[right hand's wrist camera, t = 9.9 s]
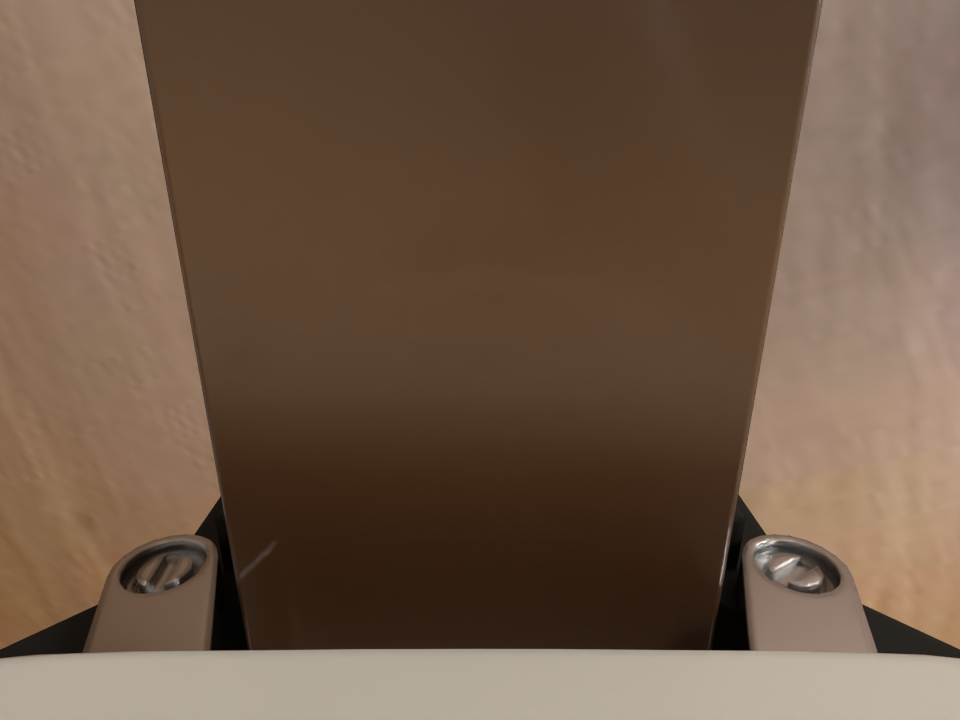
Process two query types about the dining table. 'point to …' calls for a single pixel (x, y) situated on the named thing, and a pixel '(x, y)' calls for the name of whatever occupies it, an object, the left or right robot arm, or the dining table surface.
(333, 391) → the beam
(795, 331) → the dining table surface
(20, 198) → the dining table surface
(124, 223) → the dining table surface
